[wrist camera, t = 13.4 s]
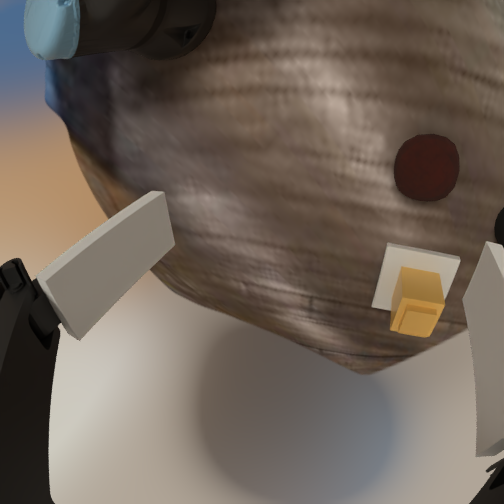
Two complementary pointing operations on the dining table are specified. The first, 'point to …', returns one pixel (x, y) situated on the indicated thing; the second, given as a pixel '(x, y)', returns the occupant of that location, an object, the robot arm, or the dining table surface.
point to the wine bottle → (500, 228)
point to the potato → (426, 167)
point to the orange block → (416, 302)
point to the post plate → (411, 259)
